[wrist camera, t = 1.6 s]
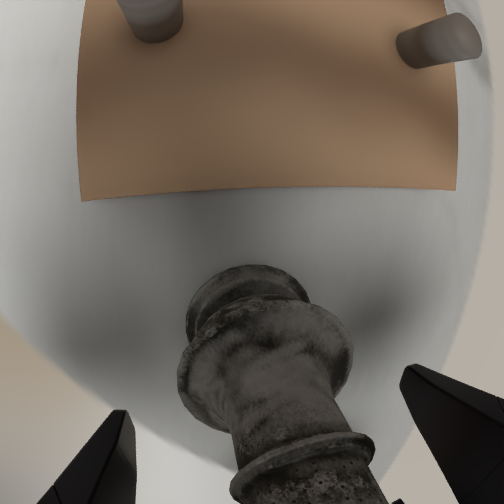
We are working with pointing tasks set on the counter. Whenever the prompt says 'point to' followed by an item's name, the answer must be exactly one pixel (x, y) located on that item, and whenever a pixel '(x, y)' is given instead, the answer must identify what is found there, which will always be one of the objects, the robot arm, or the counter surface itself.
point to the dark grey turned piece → (275, 389)
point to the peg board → (268, 94)
